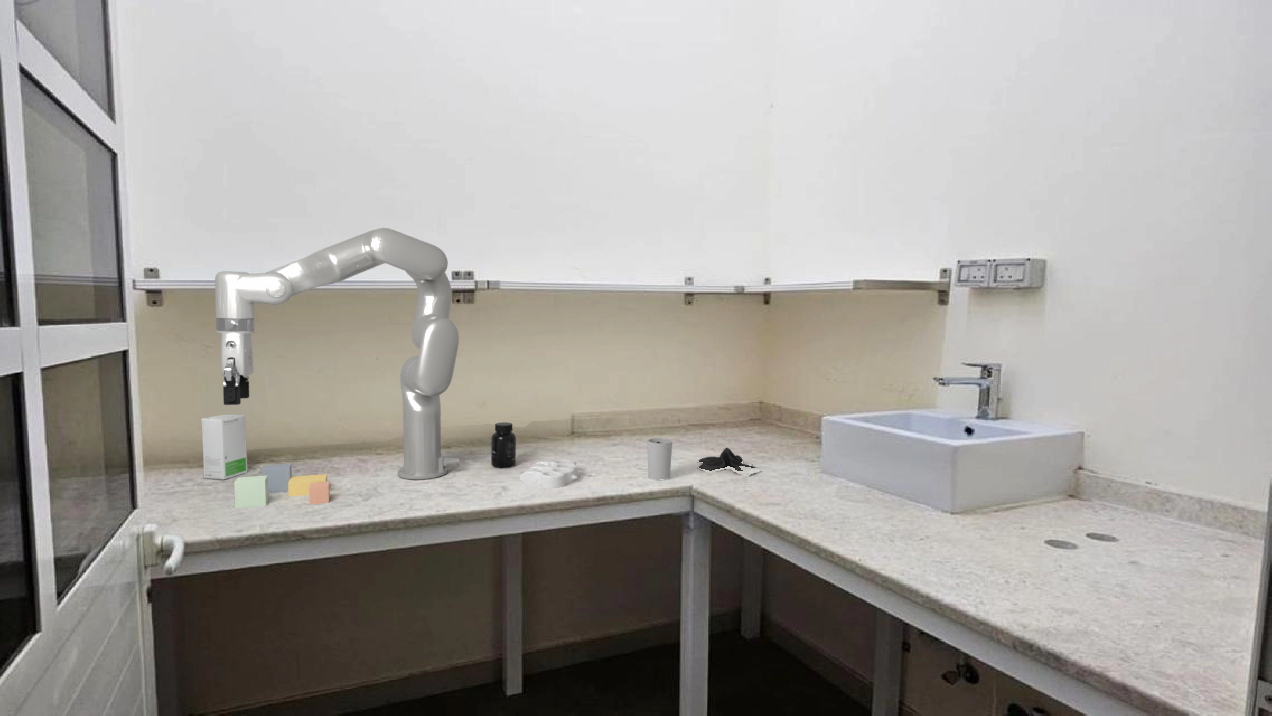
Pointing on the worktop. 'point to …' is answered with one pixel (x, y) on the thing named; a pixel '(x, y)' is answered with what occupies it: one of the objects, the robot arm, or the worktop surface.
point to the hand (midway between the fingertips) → (236, 401)
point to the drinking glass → (659, 458)
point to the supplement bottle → (503, 446)
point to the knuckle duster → (551, 473)
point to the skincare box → (224, 446)
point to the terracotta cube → (319, 493)
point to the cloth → (723, 461)
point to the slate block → (277, 477)
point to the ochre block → (303, 484)
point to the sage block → (251, 491)
